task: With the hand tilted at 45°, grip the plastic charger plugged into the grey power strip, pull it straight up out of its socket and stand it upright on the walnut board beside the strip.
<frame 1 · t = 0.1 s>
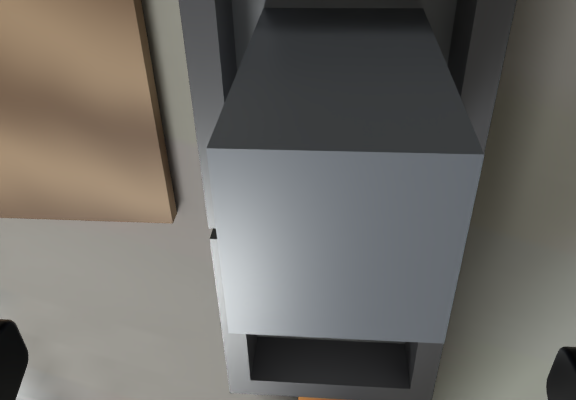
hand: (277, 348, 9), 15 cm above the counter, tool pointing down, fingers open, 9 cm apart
charger: (339, 82, 19), point 3 cm above the counter, touching power strip
power strip: (335, 182, 25), on the counter
walnut board: (33, 106, 24), on the counter
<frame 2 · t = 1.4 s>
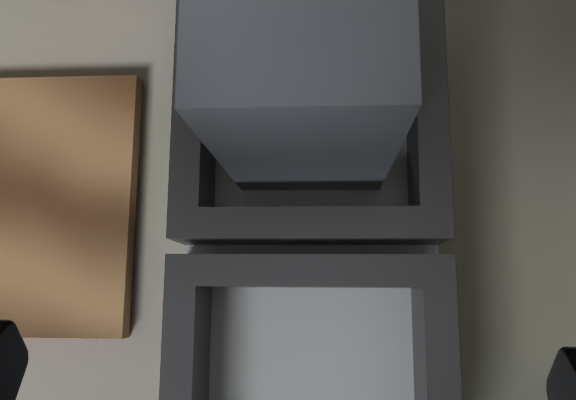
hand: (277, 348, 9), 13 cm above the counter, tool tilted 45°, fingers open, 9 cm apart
charger: (310, 123, 20), point 3 cm above the counter, touching power strip
power strip: (312, 288, 22), on the counter
walnut board: (12, 205, 24), on the counter
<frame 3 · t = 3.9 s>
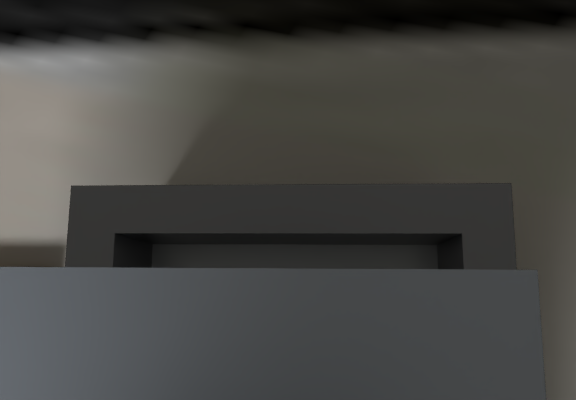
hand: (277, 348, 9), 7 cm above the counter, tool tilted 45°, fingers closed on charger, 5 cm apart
charger: (291, 393, 13), point 3 cm above the counter, touching gripper, power strip
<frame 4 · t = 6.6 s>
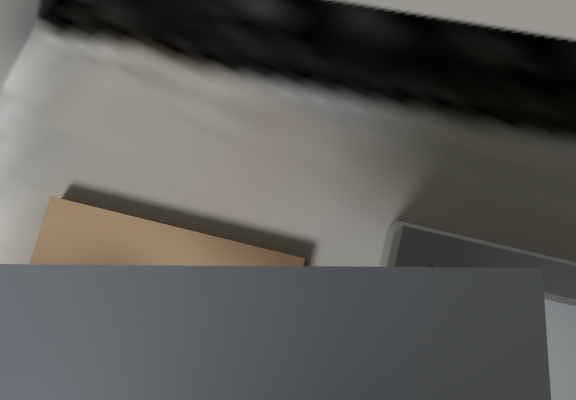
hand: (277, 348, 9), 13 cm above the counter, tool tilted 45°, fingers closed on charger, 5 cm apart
charger: (292, 392, 13), point 9 cm above the counter, touching gripper
walnut board: (143, 358, 23), on the counter
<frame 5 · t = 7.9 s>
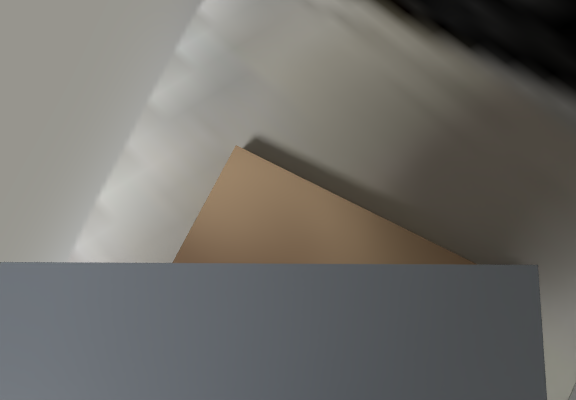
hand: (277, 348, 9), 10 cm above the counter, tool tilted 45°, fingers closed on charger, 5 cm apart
charger: (291, 391, 13), point 6 cm above the counter, touching gripper
walnut board: (302, 355, 19), on the counter
when the fingers open (6 cm above the counter, at t = 9.1 s): charger drops 2 cm, resting on walnut board.
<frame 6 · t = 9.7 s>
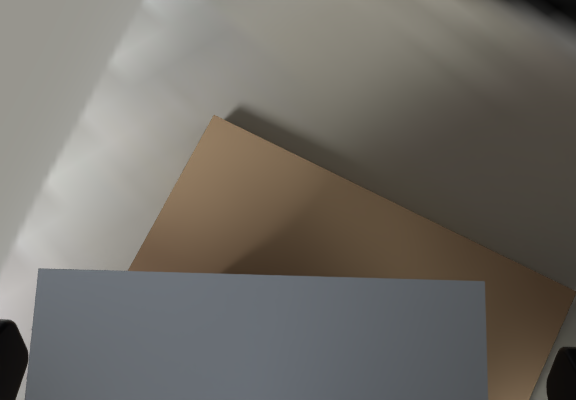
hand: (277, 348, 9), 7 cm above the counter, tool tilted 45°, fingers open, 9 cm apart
charger: (295, 381, 15), point 1 cm above the counter, touching walnut board
walnut board: (296, 377, 15), on the counter
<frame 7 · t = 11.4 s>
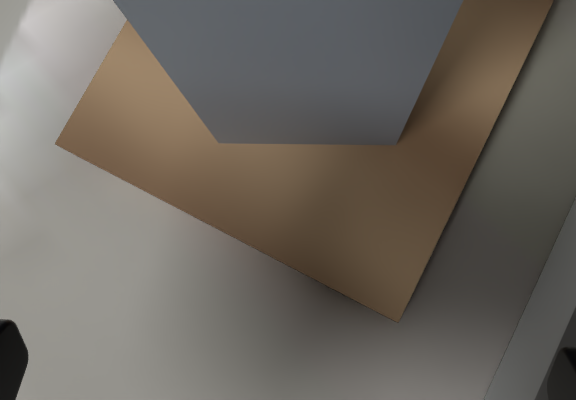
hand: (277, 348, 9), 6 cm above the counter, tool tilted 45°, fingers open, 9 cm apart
charger: (308, 60, 16), point 1 cm above the counter, touching walnut board
walnut board: (308, 71, 17), on the counter
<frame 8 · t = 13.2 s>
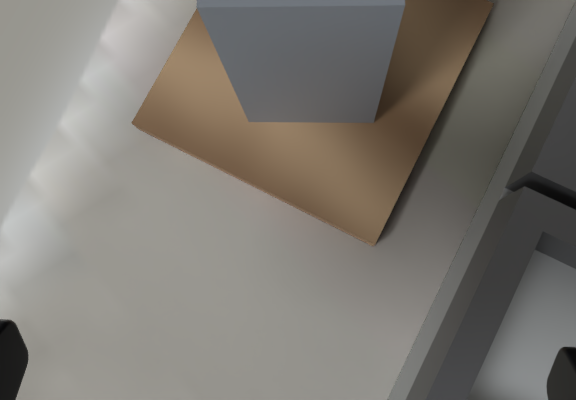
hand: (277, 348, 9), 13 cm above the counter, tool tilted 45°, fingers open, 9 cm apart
charger: (312, 63, 22), point 1 cm above the counter, touching walnut board
power strip: (574, 288, 21), on the counter
walnut board: (312, 71, 23), on the counter
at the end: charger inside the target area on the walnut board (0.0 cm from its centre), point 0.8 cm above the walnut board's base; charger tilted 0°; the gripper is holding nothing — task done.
